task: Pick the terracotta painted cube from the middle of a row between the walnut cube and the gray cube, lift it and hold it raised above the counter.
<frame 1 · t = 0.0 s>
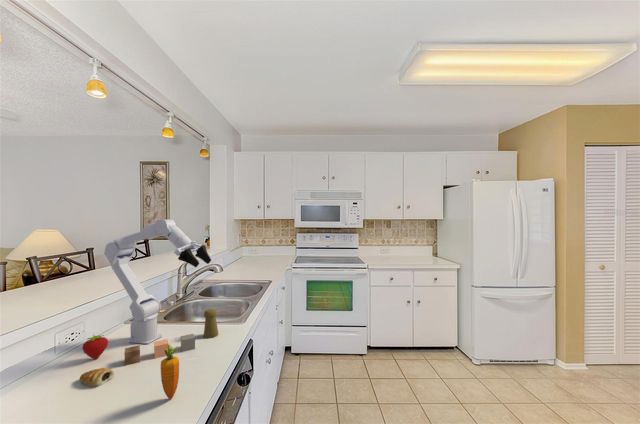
hand: (203, 263, 117), 32 cm above the worktop, tool tilted 50°, fingers open, 7 cm apart
pepper mill: (211, 335, 126), on the worktop
pastry: (96, 382, 93), on the worktop
terracotta cube: (161, 354, 110), on the worktop
gray cube: (187, 348, 114), on the worktop
walnut cube: (132, 361, 105), on the worktop
carrot: (170, 399, 83), on the worktop
strawberry: (95, 360, 107), on the worktop
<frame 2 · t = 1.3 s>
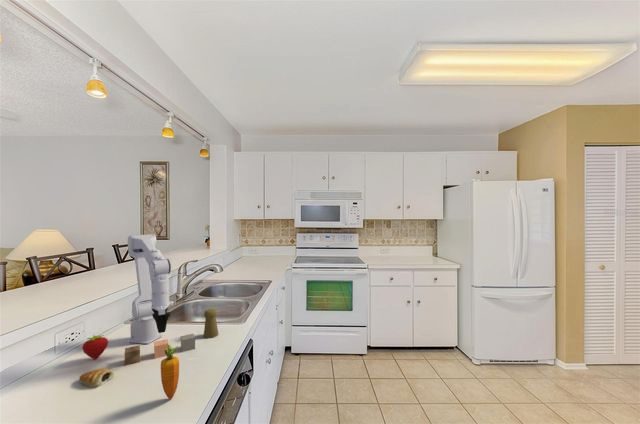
hand: (161, 328, 110), 9 cm above the worktop, tool pointing down, fingers open, 7 cm apart
nothing on the worktop moved.
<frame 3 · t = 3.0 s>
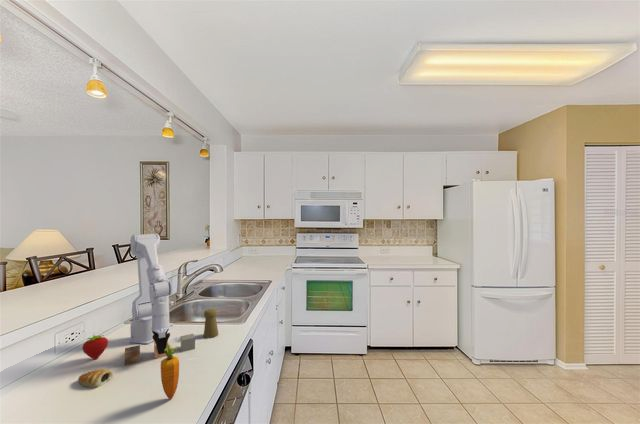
hand: (161, 350, 110), 1 cm above the worktop, tool pointing down, fingers closed on terracotta cube, 4 cm apart
terracotta cube: (161, 354, 110), on the worktop, touching gripper
everything else where it was.
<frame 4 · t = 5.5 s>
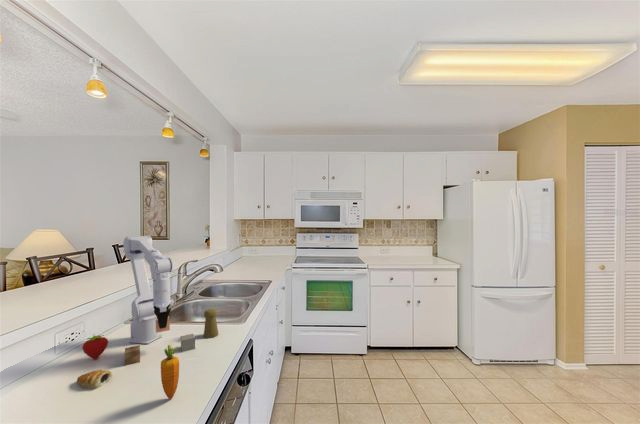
hand: (162, 325, 113), 9 cm above the worktop, tool pointing down, fingers closed on terracotta cube, 4 cm apart
terracotta cube: (162, 329, 113), point 8 cm above the worktop, touching gripper
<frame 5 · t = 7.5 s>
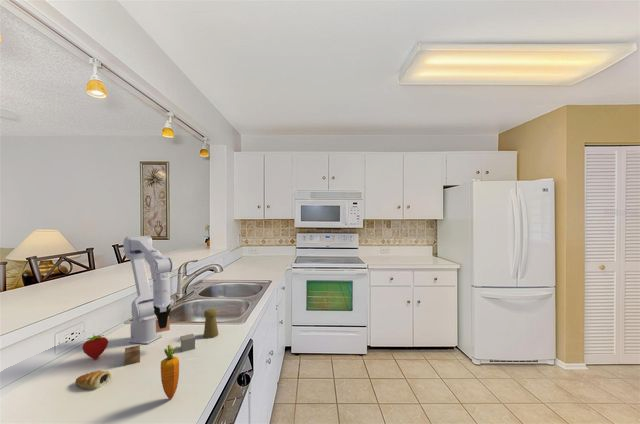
hand: (162, 325, 113), 9 cm above the worktop, tool pointing down, fingers closed on terracotta cube, 4 cm apart
terracotta cube: (162, 329, 113), point 8 cm above the worktop, touching gripper
at the end: terracotta cube point 7.9 cm above the worktop; walnut cube moved 0.1 cm from its start; gray cube moved 0.1 cm from its start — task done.
